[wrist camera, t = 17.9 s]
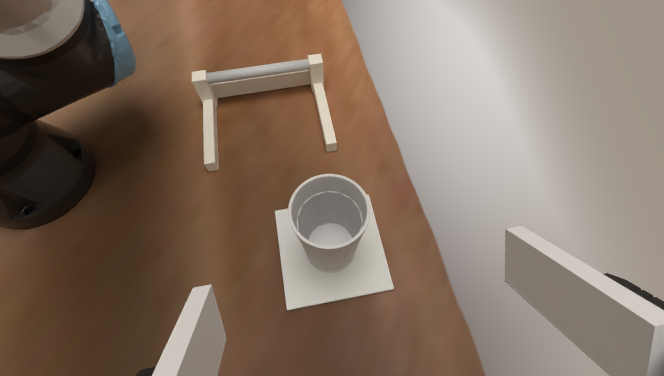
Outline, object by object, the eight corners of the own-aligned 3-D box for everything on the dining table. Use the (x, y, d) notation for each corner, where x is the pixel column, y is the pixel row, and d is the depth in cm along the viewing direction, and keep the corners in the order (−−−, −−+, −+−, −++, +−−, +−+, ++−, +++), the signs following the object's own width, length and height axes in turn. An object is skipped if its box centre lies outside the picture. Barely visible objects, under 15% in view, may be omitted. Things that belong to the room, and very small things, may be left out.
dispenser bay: (338, 150, 52) (338, 124, 46) (206, 171, 50) (191, 148, 45) (320, 74, 59) (318, 44, 54) (205, 90, 58) (192, 62, 52)
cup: (334, 207, 47) (333, 160, 36) (374, 251, 44) (387, 213, 33) (287, 244, 44) (271, 205, 34) (326, 293, 41) (323, 266, 31)
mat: (287, 310, 41) (286, 309, 41) (275, 212, 47) (274, 210, 47) (393, 289, 42) (393, 288, 42) (368, 196, 48) (368, 194, 48)
